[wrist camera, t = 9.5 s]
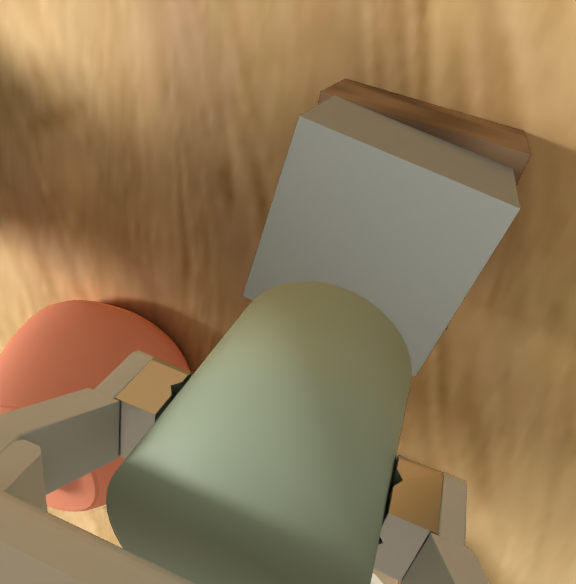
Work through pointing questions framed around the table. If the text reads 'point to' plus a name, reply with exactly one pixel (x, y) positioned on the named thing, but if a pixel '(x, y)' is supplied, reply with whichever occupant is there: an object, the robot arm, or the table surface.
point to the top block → (384, 218)
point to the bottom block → (441, 123)
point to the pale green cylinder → (273, 447)
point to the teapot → (76, 370)
